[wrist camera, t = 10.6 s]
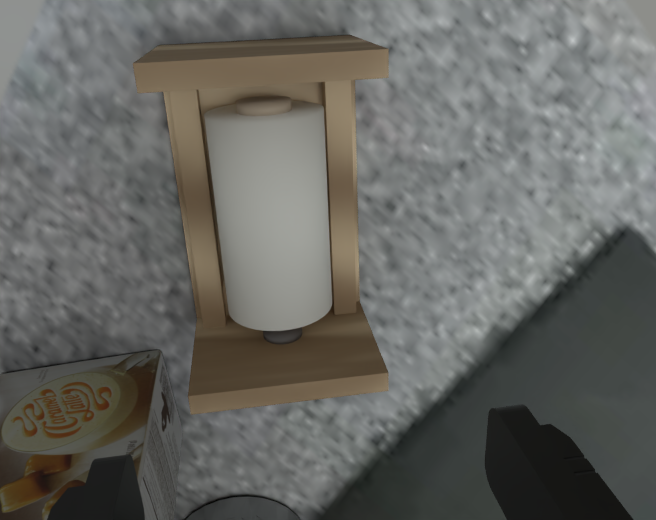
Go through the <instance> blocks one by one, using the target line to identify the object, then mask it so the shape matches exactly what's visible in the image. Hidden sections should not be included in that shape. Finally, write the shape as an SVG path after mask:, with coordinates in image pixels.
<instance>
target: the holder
mask: <svg viewBox="0 0 656 520" xmlns="http://www.w3.org/2000/svg"><path fill="white" fill-rule="evenodd" d="M133 68H134V74H135V80H136V86H137V92H138V93H150V92H163V93H164V100H165V107H166V113H167V120H168V127H169V134H170V140H171V147H172V154H173V160H174V167H175V174H176V181H177V187H178V194H179V201H180V208H181V214H182V221H183V228H184V234H185V241H186V248H187V255H188V261H189V268H190V275H191V281H192V288H193V295H194V302H195V308H196V315H197V323H196V331H195V340H194V349H193V357H192V366H191V375H190V383H189V392H188V399H189V405H190V411H191V415H192V414H200V413H209V412H217V411H225V410H233V409H242V408H250V407H258V406H267V405H275V404H283V403H291V402H300V401H308V400H316V399H324V398H333V397H341V396H349V395H358V394H366V393H374V392H382V391H388V371H387V368H386V366H385V363H384V361H383V358H382V356H381V353H380V351H379V348H378V346H377V343H376V341H375V339H374V336H373V334H372V331H371V329H370V326H369V324H368V321H367V319H366V316H365V314H364V311H363V309H362V306H361V304H360V297H359V251H358V205H357V159H356V113H355V80H360V79H376V78H388V49H387V48H384V47H382V46H379V45H376V44H373V43H371V42H368V41H365V40H363V39H360V38H357V37H355V36H352V35H338V36H320V37H301V38H282V39H264V40H245V41H226V42H208V43H189V44H170V45H159V46H157V47H156V48H154V49H153V50H151V51H150V52H149V53H147V54H146V55H144V56H143V57H141V58H140V59H139V60H137V61H136V62H134V63H133ZM269 95H275V96H287V97H290V98H291V100H295V101H307V102H313V103H317V104H320V105H322V106H323V107H324V125H325V148H326V171H327V194H328V217H329V240H330V263H331V286H332V306H331V309H330V310H329V312H328V313H327V314H326V315H325V316H324V317H322V318H321V319H319V320H318V321H316V322H314V323H312V324H309V325H307V326H304V327H300V328H296V329H291V330H284V331H262V330H255V329H251V328H247V327H245V326H242V325H240V324H238V323H237V322H235V321H234V320H233V319H232V318H231V317H230V315H229V312H228V303H227V295H226V287H225V279H224V271H223V263H222V255H221V247H220V239H219V231H218V223H217V215H216V207H215V199H214V191H213V183H212V175H211V167H210V159H209V151H208V143H207V135H206V127H205V119H204V114H205V113H206V112H207V111H209V110H212V109H214V108H218V107H222V106H226V105H231V104H236V101H237V100H239V99H243V98H247V97H255V96H269Z"/></svg>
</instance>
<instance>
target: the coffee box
mask: <svg viewBox="0 0 656 520" xmlns="http://www.w3.org/2000/svg"><path fill="white" fill-rule="evenodd" d="M182 435H183V431H182V425H181V421H180V418H179V414H178V410H177V407H176V403H175V399H174V396H173V392H172V388H171V384H170V380H169V377H168V373H167V370H166V366H165V363H164V359H163V355H162V352H161V351H160V350H153V351H146V352H140V353H133V354H127V355H120V356H114V357H107V358H101V359H95V360H88V361H81V362H75V363H68V364H62V365H56V366H50V367H43V368H37V369H31V370H24V371H18V372H12V373H6V374H2V375H0V520H47V518H48V515H49V512H50V510H51V508H52V506H53V505H54V504H55V503H56V502H57V500H58V499H59V498H60V497H61V496H62V494H63V493H64V492H65V491H66V490H67V488H69V487H77V486H84V485H85V483H86V480H87V477H88V473H89V470H90V467H91V464H92V462H93V460H94V459H97V458H105V457H113V456H120V455H128V454H130V455H131V456H132V458H133V462H134V466H135V471H136V475H137V480H138V484H139V489H140V493H141V497H142V502H143V507H144V514H145V520H174V513H175V503H176V492H177V483H178V473H179V461H180V452H181V444H182Z"/></svg>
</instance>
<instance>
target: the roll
mask: <svg viewBox="0 0 656 520" xmlns="http://www.w3.org/2000/svg"><path fill="white" fill-rule="evenodd" d="M204 119H205V127H206V135H207V143H208V151H209V159H210V167H211V175H212V183H213V191H214V199H215V207H216V215H217V223H218V231H219V239H220V247H221V255H222V263H223V271H224V279H225V287H226V295H227V303H228V312H229V315H230V317H231V318H232V319H233V320H234V321H235V322H237V323H238V324H240V325H242V326H245V327H247V328H251V329H255V330H262V331H284V330H291V329H296V328H300V327H304V326H307V325H309V324H312V323H314V322H316V321H318V320H319V319H321V318H322V317H324V316H325V315H326V314H327V313H328V312H329V310H330V309H331V306H332V286H331V263H330V240H329V217H328V194H327V171H326V148H325V125H324V107H323V106H322V105H320V104H317V103H313V102H307V101H295V100H291V98H290V97H287V96H275V95H269V96H255V97H247V98H243V99H239V100H237V101H236V104H231V105H226V106H222V107H218V108H214V109H212V110H209V111H207V112H206V113H205V114H204Z"/></svg>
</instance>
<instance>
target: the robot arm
mask: <svg viewBox="0 0 656 520" xmlns="http://www.w3.org/2000/svg"><path fill="white" fill-rule="evenodd" d="M485 470H486V475H487V479H488V482H489V485H490V488H491V490H492V492H493V494H494V496H495V497H496V499H497V501H498V503H499V505H500V507H501V509H502V511H503V513H504V515H505V517H506V518H507V520H633V519H632V517H631V516H630V515H629V513H628V512H627V511H626V509H625V508H624V507H623V506H622V504H621V503H620V502H619V500H618V499H617V498H616V496H615V495H614V494H613V492H612V491H611V490H610V489H609V487H608V486H607V485H606V483H605V482H604V481H603V479H602V478H601V477H600V475H599V474H598V473H595V469H594V468H593V466H592V465H591V464H590V462H589V461H588V460H587V459H585V458H584V455H583V453H582V452H581V451H580V449H579V448H578V447H577V445H576V444H575V443H574V442H573V440H572V439H571V438H570V437H569V436H567V435H566V434H564V433H563V432H561V431H560V430H559V429H557V428H556V427H554V426H553V425H551V424H547V425H540V424H539V423H538V422H537V420H536V419H535V417H534V416H533V415H532V413H531V412H530V411H529V409H528V408H527V407H526V406H525V405H514V406H506V407H499V408H492V409H491V410H490V411H489V415H488V426H487V439H486V451H485ZM47 520H145V514H144V507H143V502H142V497H141V493H140V489H139V484H138V480H137V475H136V471H135V466H134V462H133V458H132V456H131V455H130V454H128V455H120V456H113V457H105V458H97V459H94V460H93V462H92V464H91V467H90V470H89V473H88V477H87V480H86V483H85V485H84V486H77V487H69V488H67V490H66V491H65V492H64V493H63V494H62V496H61V497H60V498H59V499H58V500H57V502H56V503H55V504H54V505H53V506H52V508H51V510H50V512H49V515H48V518H47ZM186 520H300V519H299V518H298V517H297V515H296V514H294V513H293V512H292V511H291V510H290V509H288V508H287V507H285V506H283V505H281V504H279V503H277V502H275V501H271V500H268V499H264V498H257V497H233V498H228V499H224V500H219V501H216V502H214V503H211V504H209V505H206V506H204V507H202V508H201V509H199V510H197V511H196V512H194V513H192V514H191V515H190V516H189V517H188V518H187V519H186Z"/></svg>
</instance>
